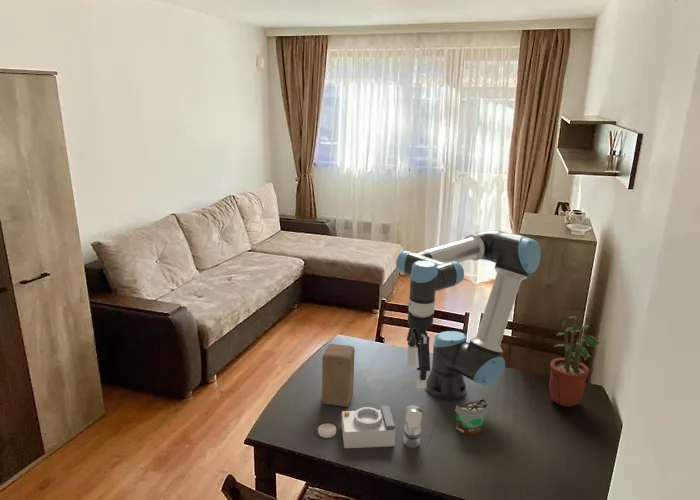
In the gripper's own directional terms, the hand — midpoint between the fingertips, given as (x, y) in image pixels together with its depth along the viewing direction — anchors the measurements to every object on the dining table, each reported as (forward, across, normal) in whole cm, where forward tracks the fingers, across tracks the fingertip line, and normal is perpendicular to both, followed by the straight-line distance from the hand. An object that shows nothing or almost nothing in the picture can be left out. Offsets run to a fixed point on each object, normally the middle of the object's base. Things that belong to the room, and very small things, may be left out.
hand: (416, 376), depth 154 cm
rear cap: (+25, -7, -27) cm, 37 cm away
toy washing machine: (+24, -4, -14) cm, 28 cm away
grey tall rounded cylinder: (+24, 0, 0) cm, 24 cm away
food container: (+24, -4, +22) cm, 33 cm away
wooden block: (+24, -26, -22) cm, 42 cm away
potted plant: (+24, -21, +63) cm, 71 cm away
